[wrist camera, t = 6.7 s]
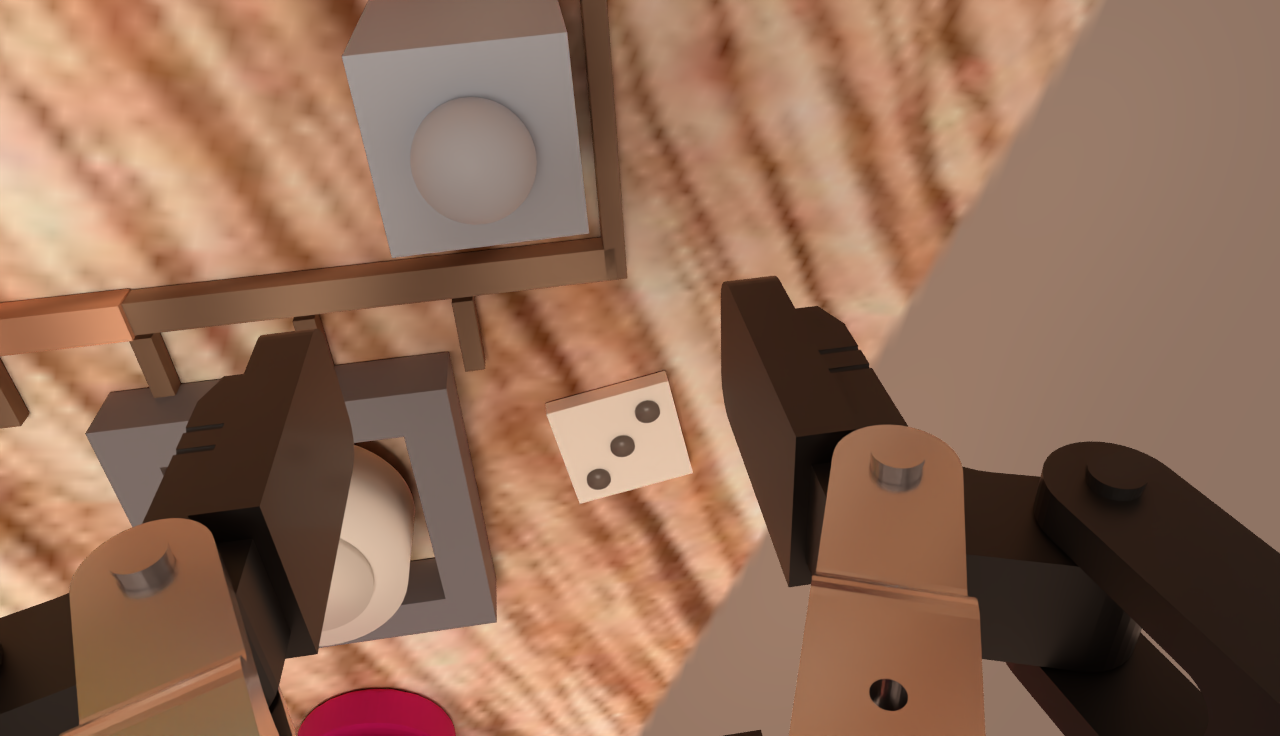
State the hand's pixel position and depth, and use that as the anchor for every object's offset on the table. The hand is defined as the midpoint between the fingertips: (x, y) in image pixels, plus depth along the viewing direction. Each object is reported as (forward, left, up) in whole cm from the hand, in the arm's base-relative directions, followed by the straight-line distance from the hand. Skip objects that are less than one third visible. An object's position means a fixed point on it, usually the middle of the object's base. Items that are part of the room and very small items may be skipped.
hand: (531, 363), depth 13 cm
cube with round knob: (+1, 0, -14) cm, 14 cm away
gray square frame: (+8, +13, -13) cm, 20 cm away
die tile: (-2, +12, -13) cm, 18 cm away
